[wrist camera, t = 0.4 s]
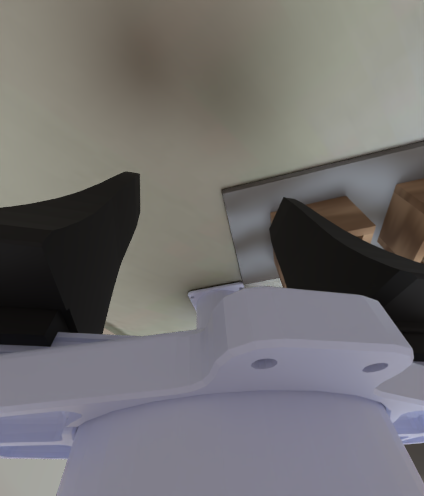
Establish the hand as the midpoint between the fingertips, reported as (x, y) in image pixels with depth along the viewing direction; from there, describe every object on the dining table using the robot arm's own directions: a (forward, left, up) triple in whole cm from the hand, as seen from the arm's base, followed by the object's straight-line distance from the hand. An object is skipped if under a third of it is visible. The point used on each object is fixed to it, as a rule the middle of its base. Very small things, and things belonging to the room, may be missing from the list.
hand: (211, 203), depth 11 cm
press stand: (-12, -14, -10) cm, 21 cm away
